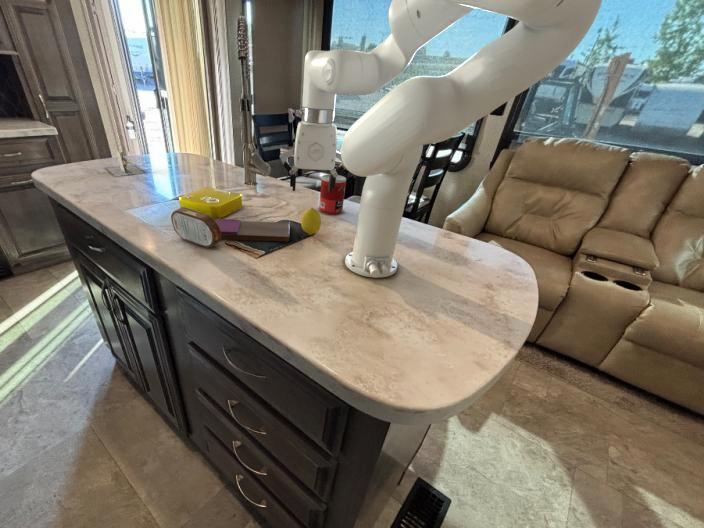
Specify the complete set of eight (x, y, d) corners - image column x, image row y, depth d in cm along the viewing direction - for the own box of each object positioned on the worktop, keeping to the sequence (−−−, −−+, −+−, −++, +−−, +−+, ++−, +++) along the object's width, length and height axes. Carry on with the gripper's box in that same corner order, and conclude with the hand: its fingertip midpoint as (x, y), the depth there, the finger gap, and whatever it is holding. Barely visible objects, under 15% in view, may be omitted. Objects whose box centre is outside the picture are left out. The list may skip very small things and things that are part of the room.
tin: (223, 248, 83) (220, 216, 78) (214, 252, 81) (211, 220, 76) (181, 233, 89) (176, 203, 84) (172, 237, 87) (166, 206, 82)
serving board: (289, 241, 88) (289, 236, 88) (206, 239, 87) (206, 233, 86) (289, 227, 97) (289, 222, 96) (214, 224, 95) (213, 219, 95)
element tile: (244, 207, 109) (244, 192, 107) (217, 221, 98) (215, 205, 95) (208, 199, 114) (207, 185, 111) (178, 211, 103) (175, 196, 100)
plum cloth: (236, 234, 87) (236, 232, 87) (210, 233, 87) (210, 231, 87) (241, 221, 95) (241, 219, 94) (216, 220, 94) (216, 218, 94)
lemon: (318, 240, 90) (320, 212, 86) (298, 237, 91) (299, 209, 87) (321, 232, 95) (323, 205, 90) (302, 230, 96) (304, 203, 91)
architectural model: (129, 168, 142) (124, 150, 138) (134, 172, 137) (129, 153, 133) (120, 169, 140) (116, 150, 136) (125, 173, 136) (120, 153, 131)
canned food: (339, 216, 107) (343, 182, 100) (316, 212, 109) (318, 178, 102) (344, 209, 113) (348, 176, 106) (322, 205, 115) (325, 173, 108)
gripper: (280, 116, 73) (278, 193, 83) (356, 121, 74) (346, 197, 84) (281, 112, 79) (279, 184, 89) (351, 117, 80) (342, 188, 90)
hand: (312, 190), depth 86 cm, fingers open, 9 cm apart
